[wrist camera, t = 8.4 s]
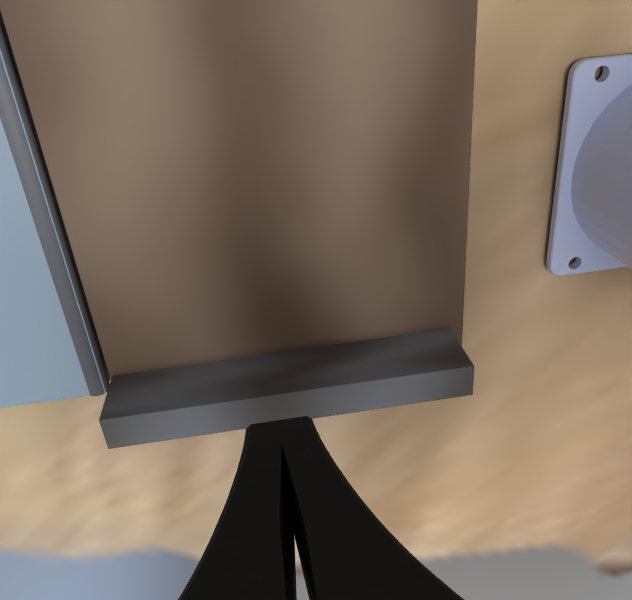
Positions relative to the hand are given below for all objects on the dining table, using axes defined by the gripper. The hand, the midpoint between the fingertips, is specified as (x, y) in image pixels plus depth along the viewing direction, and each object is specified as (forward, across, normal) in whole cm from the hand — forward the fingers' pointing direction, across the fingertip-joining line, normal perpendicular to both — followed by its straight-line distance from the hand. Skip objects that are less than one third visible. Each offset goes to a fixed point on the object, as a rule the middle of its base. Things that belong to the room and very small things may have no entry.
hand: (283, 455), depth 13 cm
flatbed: (+10, -1, -6) cm, 12 cm away
